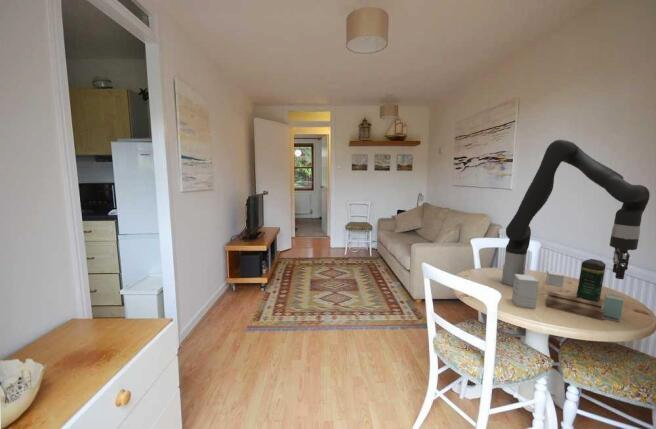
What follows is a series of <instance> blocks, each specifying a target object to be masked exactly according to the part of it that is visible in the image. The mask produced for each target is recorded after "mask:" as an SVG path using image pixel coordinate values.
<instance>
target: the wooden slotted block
mask: <svg viewBox="0 0 656 429" xmlns="http://www.w3.org/2000/svg"><path fill="white" fill-rule="evenodd" d="M545 307H547V308H550V309H555V310H559V311H563V312H568V313H571V314H575V315H580V316H583V317H587V318H592V319H596V320H599V321H600V320H601V321H603V320H604V318H603V314H604V311H603V305H602V302H598V301H596V302H594V301H590V300H585V299H582V298H580V297H576V296H575V297H574V296H570V295H567V294H566V295H565V294H562V293H557V292H553V291H547V295H546V304H545Z"/></svg>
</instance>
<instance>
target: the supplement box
mask: <svg viewBox="0 0 656 429" xmlns="http://www.w3.org/2000/svg"><path fill="white" fill-rule="evenodd" d="M538 289H539V280H538V279H537V278H535V276H534V275H529V274H524V275H521V274H514V284H513V286H512V295H511V299H512V301H513V303H514V305H515V306H516V307H521V308H529V309H536V308H537V306H536V305H537V300H538V291H539V290H538Z"/></svg>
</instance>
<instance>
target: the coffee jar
mask: <svg viewBox="0 0 656 429" xmlns="http://www.w3.org/2000/svg"><path fill="white" fill-rule="evenodd" d="M606 266H607V264H606V263H605V262H604V261H602V260H599V259H593V258H590V259H585V260H583V261H582V262H581V266H580V273H579V279H578V286H577V291H576V296H577V298H580V299H585V300H590V301H594V302H598V301H599V300H600V299H601V295H602V288H603V283H604V279H605V277H604V276H605V271H606Z"/></svg>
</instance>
